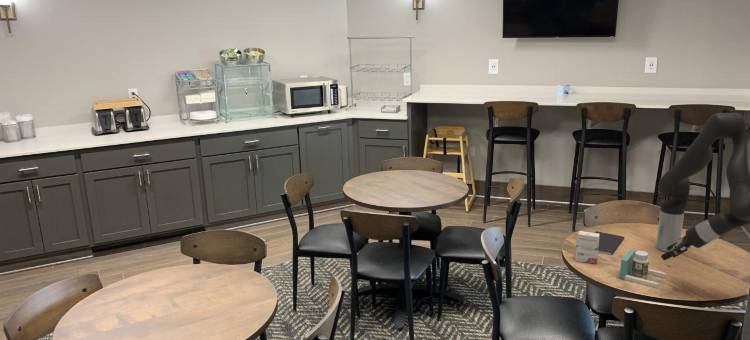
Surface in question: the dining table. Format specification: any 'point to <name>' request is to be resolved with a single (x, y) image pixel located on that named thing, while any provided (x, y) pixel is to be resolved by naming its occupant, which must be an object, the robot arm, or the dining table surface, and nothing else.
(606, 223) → the dining table surface
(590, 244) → the ink box
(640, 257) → the pill bottle
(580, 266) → the dining table surface
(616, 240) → the notebook
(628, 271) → the pocket
